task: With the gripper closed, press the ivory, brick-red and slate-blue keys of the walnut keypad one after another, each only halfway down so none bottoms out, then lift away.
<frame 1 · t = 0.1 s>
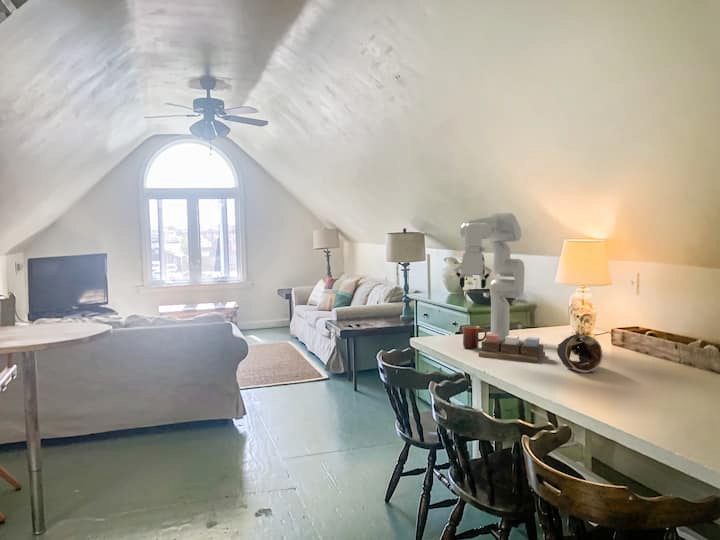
hand: (472, 287, 252), 31 cm above the table, fingers open, 9 cm apart
ivory key: (512, 341, 251), point 7 cm above the table, slide at 0.0 cm
mug: (474, 348, 269), on the table
slate key: (532, 343, 246), point 7 cm above the table, slide at 0.0 cm
keypad: (511, 356, 251), on the table
brick key: (492, 339, 255), point 7 cm above the table, slide at 0.0 cm
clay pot: (575, 366, 233), on the table
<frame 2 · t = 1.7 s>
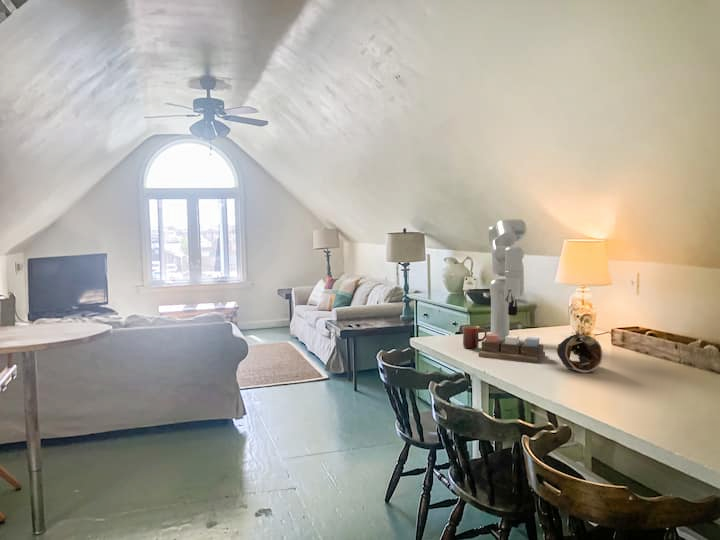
hand: (512, 314, 250), 19 cm above the table, fingers closed
nothing on the table moved.
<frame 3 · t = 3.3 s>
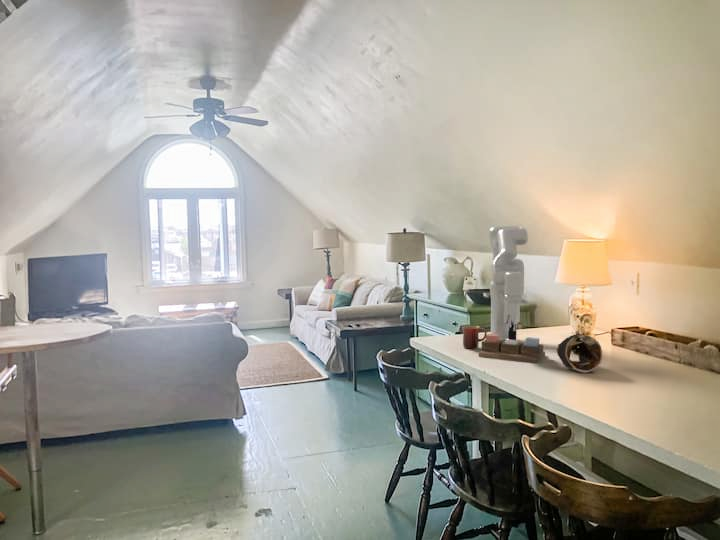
hand: (512, 339, 250), 8 cm above the table, fingers closed
ivory key: (512, 343, 251), point 6 cm above the table, slide at 1.2 cm, touching gripper
everything else where it was.
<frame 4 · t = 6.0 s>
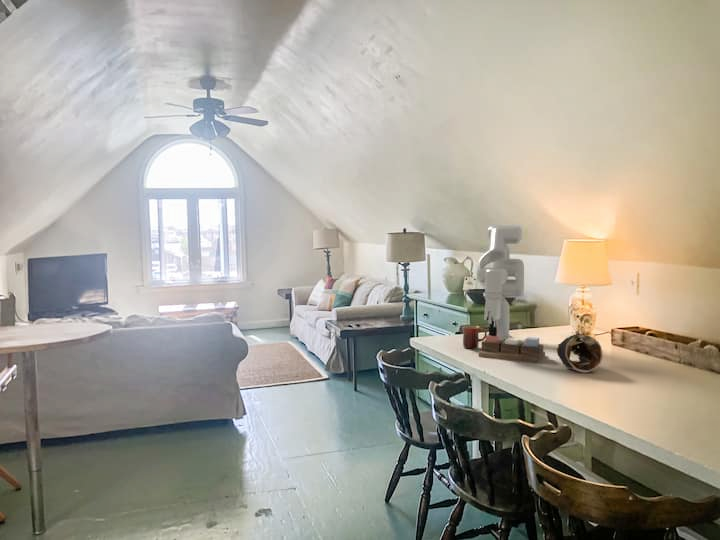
hand: (492, 335, 255), 9 cm above the table, fingers closed
ivory key: (512, 343, 251), point 6 cm above the table, slide at 1.3 cm
brick key: (492, 339, 255), point 7 cm above the table, slide at 0.2 cm, touching gripper
everything else where it was.
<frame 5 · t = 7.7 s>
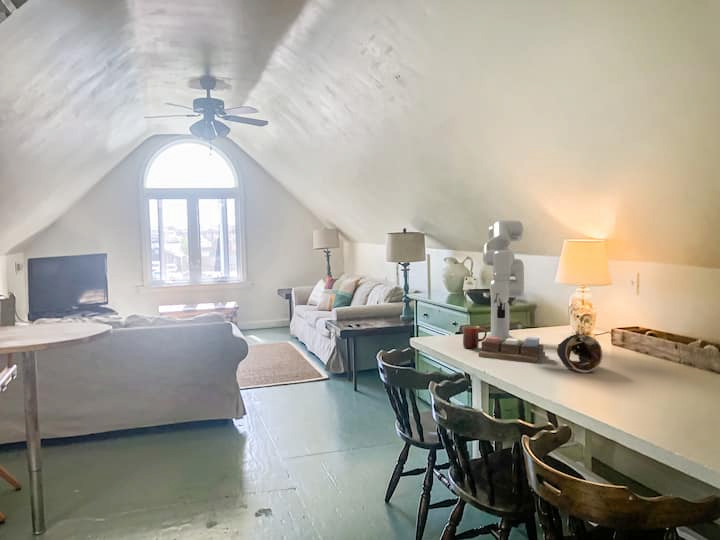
hand: (501, 317, 252), 17 cm above the table, fingers closed
brick key: (492, 342, 255), point 6 cm above the table, slide at 1.4 cm
everything else where it was.
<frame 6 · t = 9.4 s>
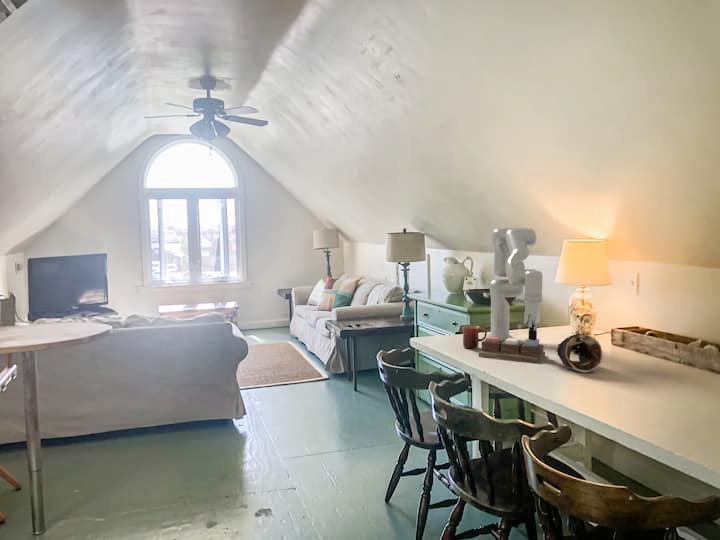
hand: (532, 339, 246), 9 cm above the table, fingers closed
slate key: (532, 343, 246), point 7 cm above the table, slide at 0.3 cm, touching gripper
everything else where it was.
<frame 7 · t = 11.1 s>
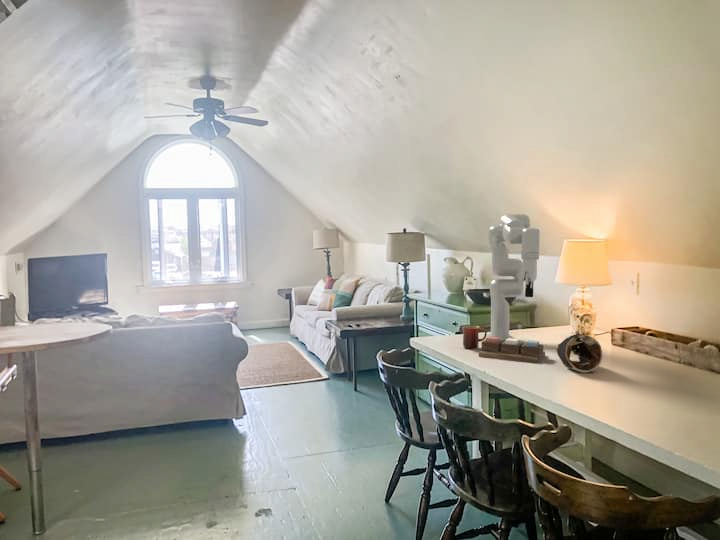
hand: (529, 296, 247), 28 cm above the table, fingers closed
slate key: (532, 345, 246), point 6 cm above the table, slide at 1.3 cm
everything else where it was.
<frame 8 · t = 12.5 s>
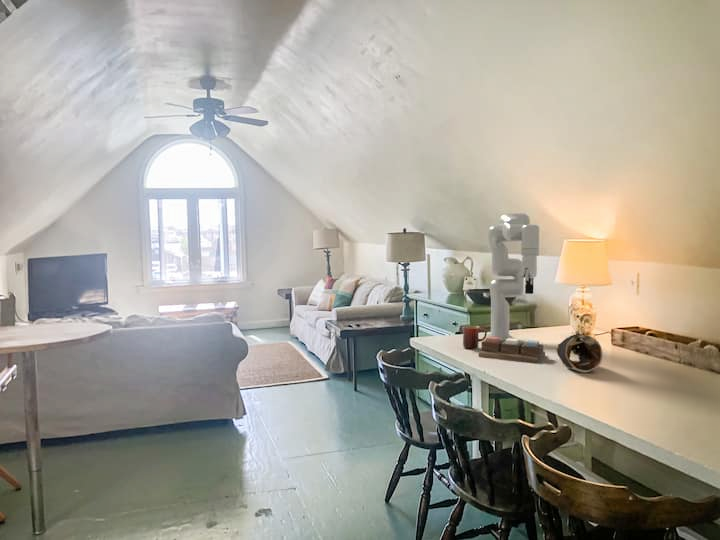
hand: (529, 293, 246), 29 cm above the table, fingers closed
nothing on the table moved.
at the end: ivory key slide at 1.3 cm; brick key slide at 1.4 cm; slate key slide at 1.3 cm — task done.
